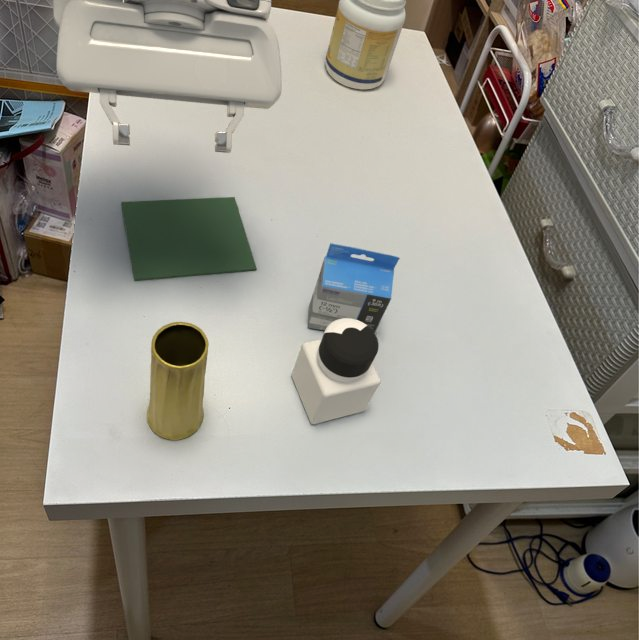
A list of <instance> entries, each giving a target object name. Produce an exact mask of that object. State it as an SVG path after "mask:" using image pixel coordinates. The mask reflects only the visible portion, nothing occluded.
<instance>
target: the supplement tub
mask: <svg viewBox="0 0 639 640" xmlns="http://www.w3.org/2000/svg"><path fill="white" fill-rule="evenodd" d="M337 5H338V6H337V10H336V14H335V17H334V18H335V19H334V22H333V27H332V31H331V35H330V40H329V44H328V48H327V51H326V54H325V69H326V71H327V72H328V74H329V75H330V77H331V78H332V79H333V80H335V81H336V82H337V83H339V84H341V85H343V86H345V87H347V88H351V89H354V90H355V89H356V90H363V91H364V90H372V89H375V88H378V87H379V86H380V85H382V84H383V83H384V81H385V80H386V77H387V74H388V72H389V69H390V66H391V62H392V59H393V56H394V53H395V50H396V48H397V44H398V42H399V38H400V35H401V33H402V29H403V26H404V24H405V22H406V9H405V8H406V7H405V6H406V5H407V0H338V4H337Z"/></svg>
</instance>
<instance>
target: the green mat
mask: <svg viewBox="0 0 639 640" xmlns="http://www.w3.org/2000/svg"><path fill="white" fill-rule="evenodd" d="M120 204H121V209H122V215H123V221H124V228H125V233H126V240H127V246H128V251H129V256H130V263H131V268H132V274H133V279H134V282H139V281H150V280H163V279H173V278H185V277H196V276H197V277H198V276H207V275H208V276H209V275H220V274H231V273H243V272H254V271H257V270H258V268H257V265H256V262H255V258H254V255H253V251H252V249H251V246H250V245H251V244H250V243H249V239H248V236H247V233H246V230H245V226H244V223H243V220H242V217H241V213H240V210H239V207H238V204H237V201H236V198H235V196H227V197H226V196H224V197H223V196H222V197H203V198H201V197H199V198H180V199H177V198H175V199H155V200H130V201H121V203H120Z"/></svg>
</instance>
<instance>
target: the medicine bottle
mask: <svg viewBox="0 0 639 640" xmlns="http://www.w3.org/2000/svg"><path fill="white" fill-rule="evenodd" d="M379 347H380V345H379V339H378V337H377V335H376V332H375V333H374V332H373V331H372V330H371V328H370V327H368V326H367V325H366V324H364V323H363V322H361V321H358V320H355V319H349V318H343V319H338V320H335V321H333V322H332V323H330V324H329V325H328V327H327V328H326V330H324V332H323V335H322V337H321V338H320V339H316V340H315V339H314V340H310V341H305V342H303V343H302V344H301V346H300V349H299V353H298V355H297V358H296V360H295V363H294V366H293V369H292V371H291V378H292V380H293V381H292V382H293V384H294V385H295V388H296V390H297V393H298V396H299V398H300V401H301V403H302V405H303V408H304V410H305V413H306V416H307V418H308V420H309V423H310V424H311V425H318V424H320V423H325V422H328V421H332V420H336V419H340V418H343V417H348V416H351V415H355V414H359V413H362V412H365V410H366V408H367V407H368V405H369V403H370V402H371V400H372V398H373V396H374V395H375V393H376V391H377V390H378V388H379V386H380V384H381V382H382V381H381V378H380V375H379V374H378V372H377V369H376V368H375V365H374V364H373V362H374V360H375V358H376V356H377V354H378V352H379Z"/></svg>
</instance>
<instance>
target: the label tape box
mask: <svg viewBox="0 0 639 640" xmlns="http://www.w3.org/2000/svg"><path fill="white" fill-rule="evenodd" d="M352 255H356V256H362V255H363V256H365V257H366V258H369V259H373V260H369V259H364V258H360V257H359V258H358V257H353V256H352ZM399 260H401V258H400V257H399V256H397V255H392V254H388V253H384V252H378V251H375V250H369V249H366V248H365V249H364V248H360V247H356V246H355V247H353V246H350V245H344V244H338V243H335V242H330V244H329V246H328V248H327V252H326V255H325V256H324V257H323V261H322V264H321V267H320V271H319V274H318V276H317V279H316V283H315V285H314V289H313V293H312V296H311V298H310V302H309V305H308V319H307V328H308V329H313V330H320V331H325V330H326V328H327V327H328V325H329V324H330V323H332V322H333V321H335V320H338V319H343V318H349V319H355V320H358V321H361V322H363V323H364V324H366V325H367V326H368V327H370V328H371V330H372V331H373V332H374V333H375V334H376V331H377V329H378V327H379V325H380V323H381V321H382V319H383V317H384V315H385V313H386V310H387V308H389V305H390V303H391V300H392V294H393V287H394V285H393V284H394V277H395V268H396V266H397V264H398V262H399Z"/></svg>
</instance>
